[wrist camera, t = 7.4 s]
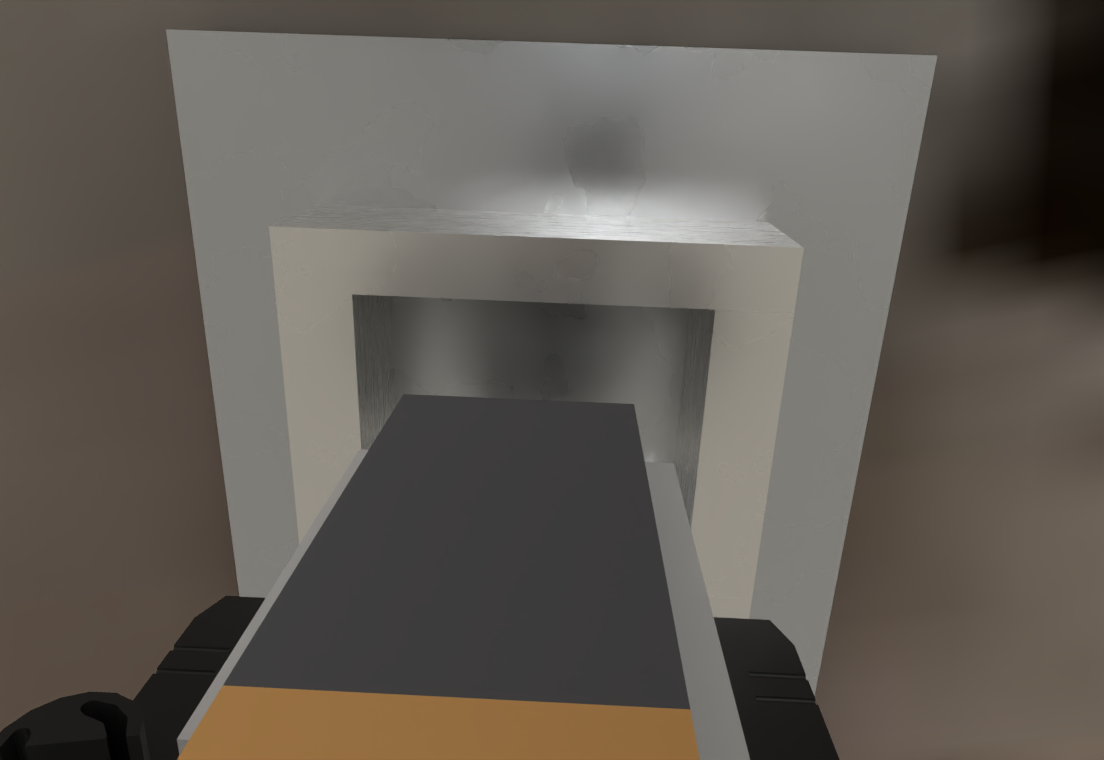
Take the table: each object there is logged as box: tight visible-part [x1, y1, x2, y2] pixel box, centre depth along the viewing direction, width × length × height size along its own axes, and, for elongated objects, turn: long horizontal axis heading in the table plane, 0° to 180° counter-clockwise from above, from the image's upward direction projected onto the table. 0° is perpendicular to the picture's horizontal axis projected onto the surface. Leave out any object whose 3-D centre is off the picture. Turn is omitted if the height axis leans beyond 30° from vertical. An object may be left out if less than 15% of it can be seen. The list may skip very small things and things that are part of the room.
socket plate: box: [166, 29, 937, 696], centre depth 19 cm, size 20×16×4 cm
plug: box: [177, 394, 700, 760], centre depth 10 cm, size 5×4×8 cm
